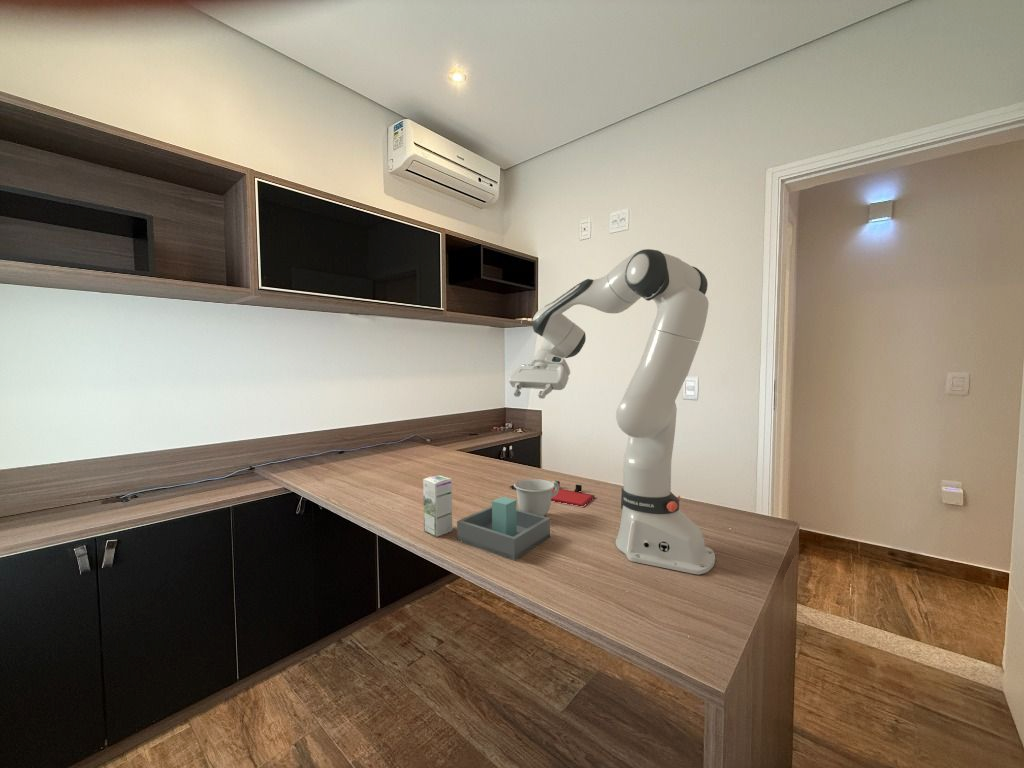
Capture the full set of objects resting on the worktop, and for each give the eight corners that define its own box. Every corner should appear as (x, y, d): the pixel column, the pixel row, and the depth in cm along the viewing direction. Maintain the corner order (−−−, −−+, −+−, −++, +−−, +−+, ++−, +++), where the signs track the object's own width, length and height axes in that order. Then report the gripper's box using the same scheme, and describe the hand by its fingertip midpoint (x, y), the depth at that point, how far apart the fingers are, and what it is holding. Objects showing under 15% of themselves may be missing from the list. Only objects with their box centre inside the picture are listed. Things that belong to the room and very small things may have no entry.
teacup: (570, 518, 118) (571, 484, 118) (528, 529, 110) (529, 493, 110) (546, 506, 128) (546, 475, 128) (506, 515, 121) (506, 482, 120)
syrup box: (453, 531, 109) (453, 478, 108) (435, 537, 104) (435, 482, 104) (440, 525, 113) (440, 474, 112) (422, 531, 108) (422, 478, 108)
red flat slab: (522, 482, 156) (502, 493, 143) (522, 475, 155) (502, 485, 142) (598, 496, 141) (583, 509, 128) (598, 488, 140) (583, 501, 127)
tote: (549, 536, 105) (550, 518, 105) (514, 560, 92) (514, 539, 92) (496, 521, 116) (496, 503, 116) (457, 540, 103) (457, 521, 103)
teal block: (516, 534, 105) (516, 499, 104) (505, 540, 101) (506, 504, 101) (502, 529, 107) (502, 496, 107) (491, 535, 104) (492, 501, 103)
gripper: (515, 358, 139) (497, 387, 131) (568, 358, 127) (552, 391, 119) (523, 371, 142) (505, 400, 135) (575, 372, 130) (559, 405, 123)
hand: (528, 396), depth 127 cm, fingers open, 8 cm apart
